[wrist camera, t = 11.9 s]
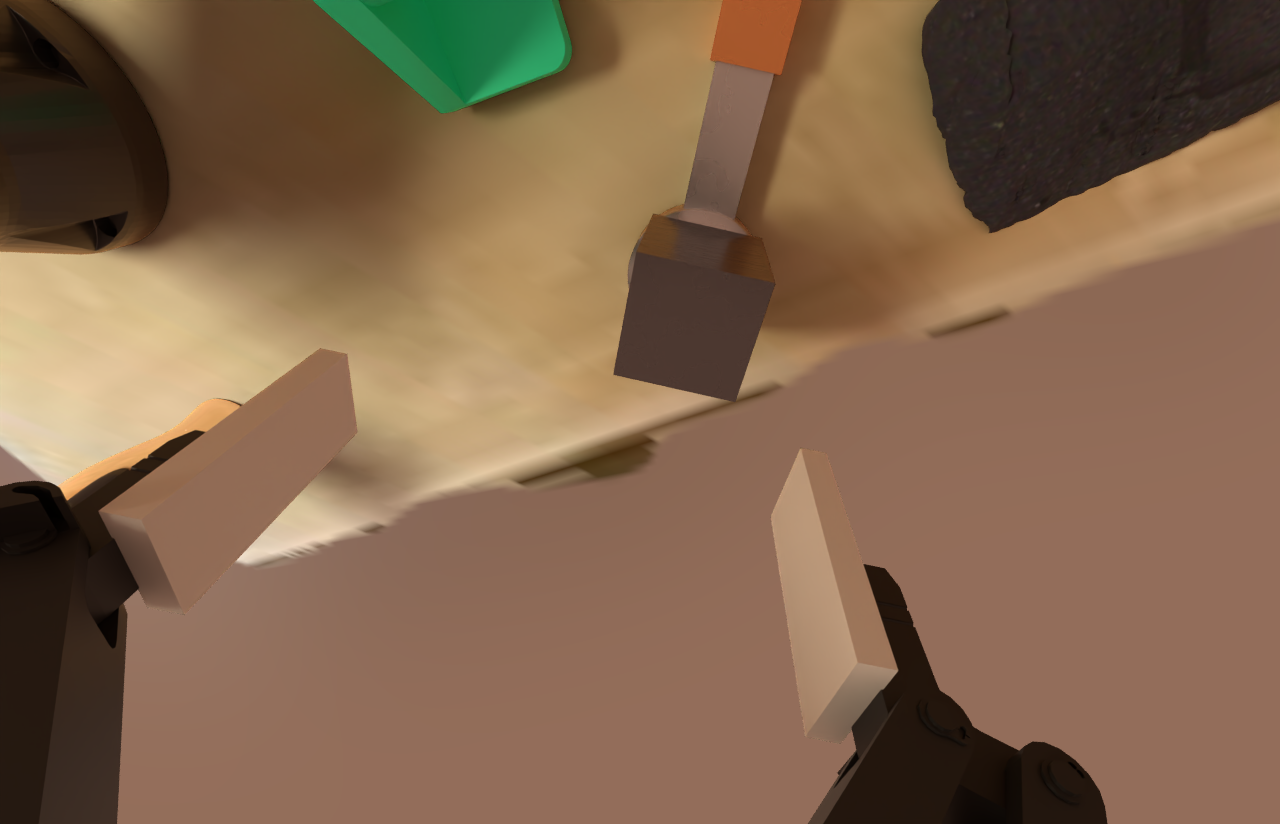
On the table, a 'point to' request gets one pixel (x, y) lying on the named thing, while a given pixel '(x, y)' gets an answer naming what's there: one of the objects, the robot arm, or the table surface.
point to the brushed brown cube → (694, 307)
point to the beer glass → (142, 451)
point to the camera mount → (459, 43)
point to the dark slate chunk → (1087, 89)
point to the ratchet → (734, 109)
